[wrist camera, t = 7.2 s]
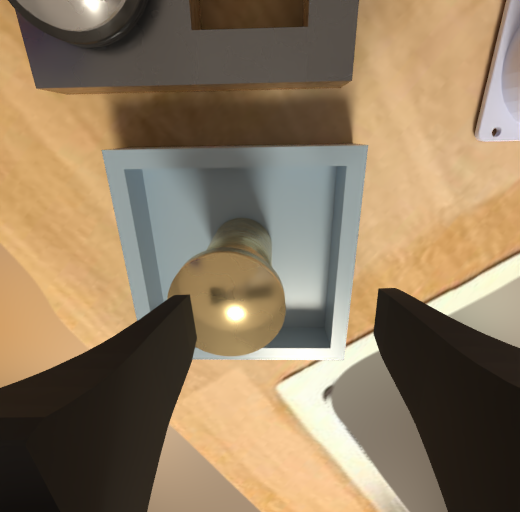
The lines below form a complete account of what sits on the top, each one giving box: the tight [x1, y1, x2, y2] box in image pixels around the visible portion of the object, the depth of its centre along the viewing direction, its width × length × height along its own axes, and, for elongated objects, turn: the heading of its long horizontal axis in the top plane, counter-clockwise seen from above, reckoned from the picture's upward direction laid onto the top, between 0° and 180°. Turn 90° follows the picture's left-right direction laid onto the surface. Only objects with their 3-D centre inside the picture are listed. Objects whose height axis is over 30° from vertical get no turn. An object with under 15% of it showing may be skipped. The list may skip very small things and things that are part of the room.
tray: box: [102, 144, 368, 360], centre depth 20 cm, size 14×14×3 cm
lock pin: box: [167, 218, 286, 356], centre depth 17 cm, size 5×5×8 cm
